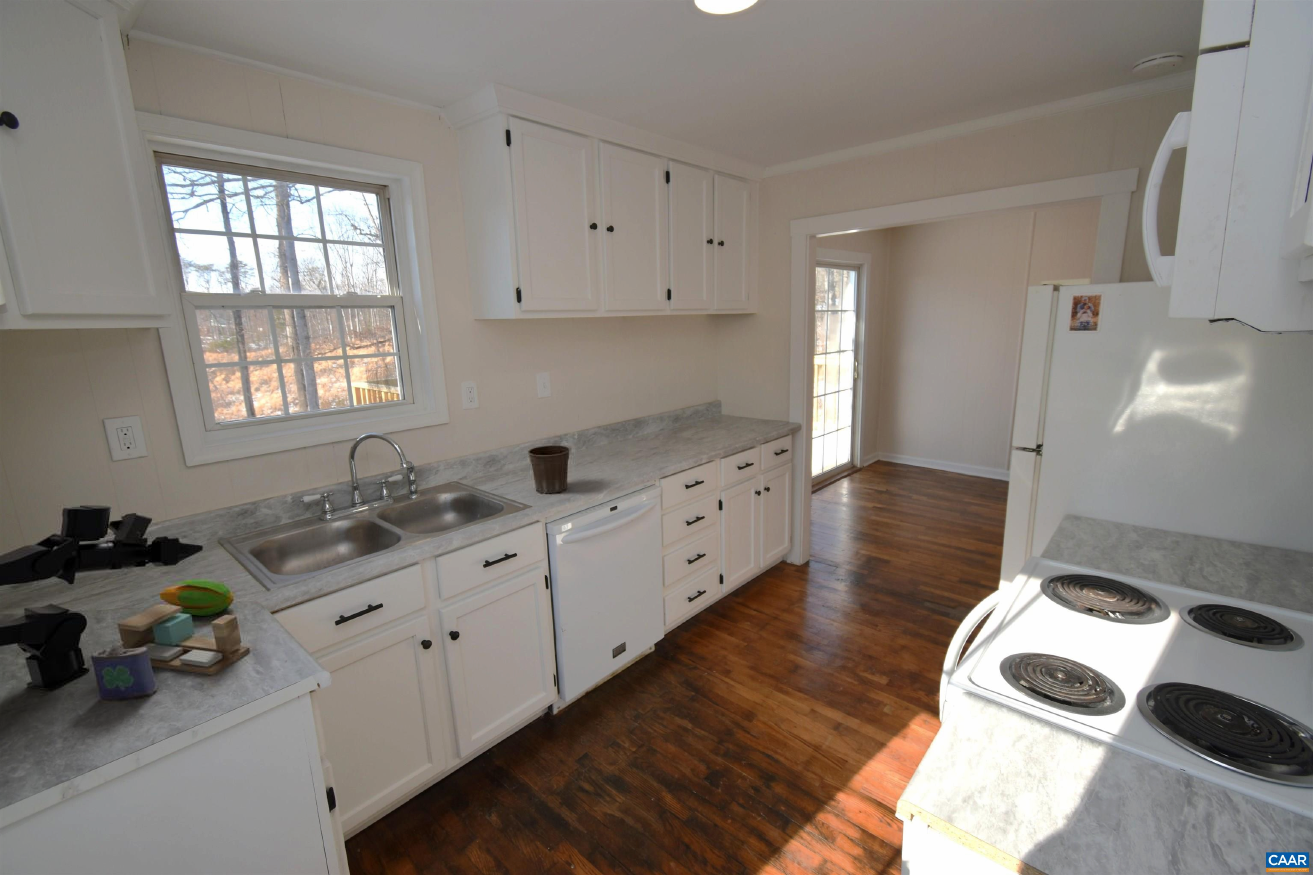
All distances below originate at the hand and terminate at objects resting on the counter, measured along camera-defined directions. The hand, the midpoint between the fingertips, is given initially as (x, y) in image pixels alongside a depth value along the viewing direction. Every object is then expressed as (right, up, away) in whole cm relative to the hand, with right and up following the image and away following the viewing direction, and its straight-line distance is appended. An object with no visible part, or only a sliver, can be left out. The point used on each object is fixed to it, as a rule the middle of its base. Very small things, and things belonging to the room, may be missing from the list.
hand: (189, 548), depth 130 cm
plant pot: (+65, +5, +95) cm, 115 cm away
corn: (-3, -16, +6) cm, 18 cm away
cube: (+6, -17, -10) cm, 21 cm away
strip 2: (+10, -19, -15) cm, 26 cm away
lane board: (+11, -20, -13) cm, 26 cm away
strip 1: (+11, -18, -12) cm, 24 cm away
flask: (+9, -22, -25) cm, 35 cm away
